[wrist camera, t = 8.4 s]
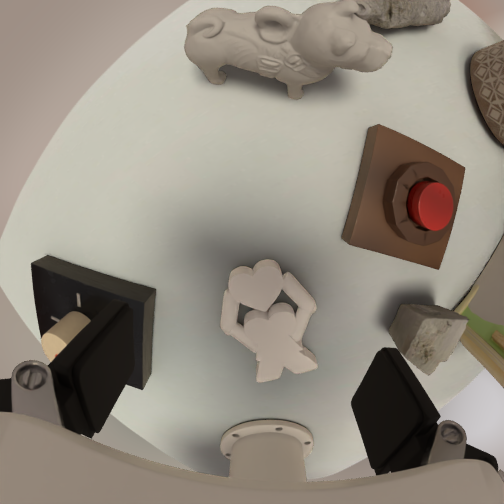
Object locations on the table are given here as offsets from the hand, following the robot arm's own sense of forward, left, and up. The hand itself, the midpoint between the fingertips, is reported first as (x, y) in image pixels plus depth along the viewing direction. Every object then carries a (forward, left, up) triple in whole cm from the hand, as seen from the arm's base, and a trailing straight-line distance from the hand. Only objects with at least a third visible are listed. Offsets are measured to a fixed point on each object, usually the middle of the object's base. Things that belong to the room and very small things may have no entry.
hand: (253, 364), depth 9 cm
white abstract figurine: (-6, -3, -15) cm, 16 cm away
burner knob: (-11, +15, -11) cm, 22 cm away
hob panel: (-11, +15, -15) cm, 24 cm away
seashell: (+28, -8, -15) cm, 33 cm away
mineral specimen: (-3, -17, -15) cm, 22 cm away
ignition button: (+8, -12, -11) cm, 18 cm away
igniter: (+8, -12, -15) cm, 20 cm away
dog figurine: (+16, +2, -15) cm, 22 cm away
